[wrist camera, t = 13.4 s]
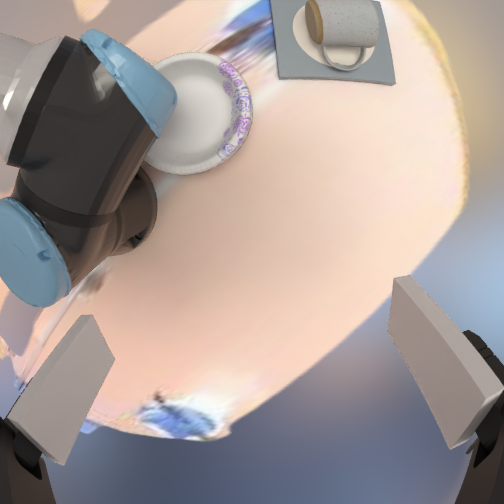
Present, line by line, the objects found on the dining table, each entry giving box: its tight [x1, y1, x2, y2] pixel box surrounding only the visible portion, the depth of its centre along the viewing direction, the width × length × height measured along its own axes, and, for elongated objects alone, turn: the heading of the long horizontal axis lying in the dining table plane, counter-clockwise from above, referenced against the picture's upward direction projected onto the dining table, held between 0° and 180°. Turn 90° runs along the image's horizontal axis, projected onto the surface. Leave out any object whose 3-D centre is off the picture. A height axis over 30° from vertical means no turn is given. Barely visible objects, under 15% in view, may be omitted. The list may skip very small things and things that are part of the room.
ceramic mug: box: [305, 0, 379, 71], centre depth 25 cm, size 11×8×8 cm
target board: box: [270, 0, 396, 86], centre depth 29 cm, size 17×15×2 cm
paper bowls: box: [144, 52, 253, 175], centre depth 31 cm, size 15×15×8 cm
